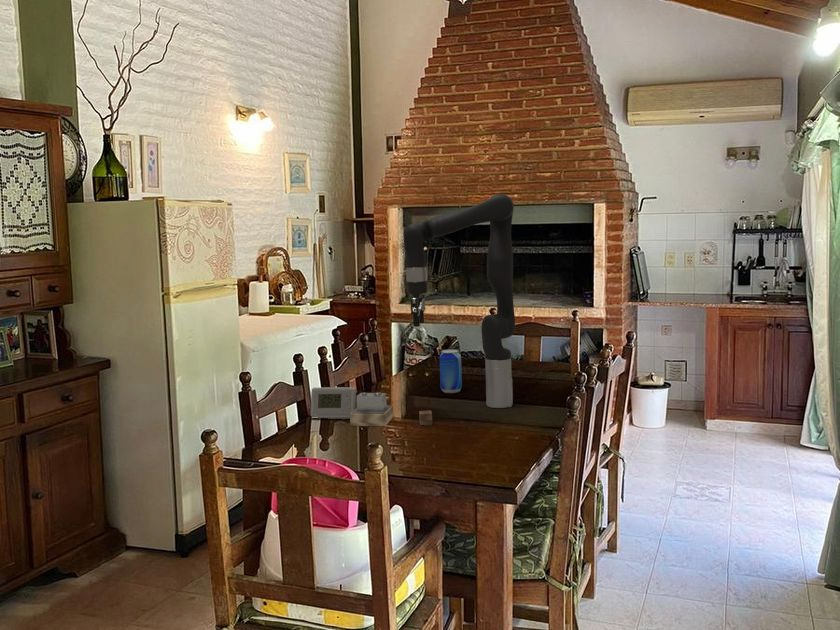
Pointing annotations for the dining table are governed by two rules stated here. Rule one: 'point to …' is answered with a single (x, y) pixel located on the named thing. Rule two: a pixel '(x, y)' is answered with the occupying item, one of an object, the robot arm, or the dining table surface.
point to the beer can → (450, 371)
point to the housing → (371, 401)
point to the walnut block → (425, 417)
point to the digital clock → (333, 402)
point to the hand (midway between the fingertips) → (418, 324)
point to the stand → (371, 417)
